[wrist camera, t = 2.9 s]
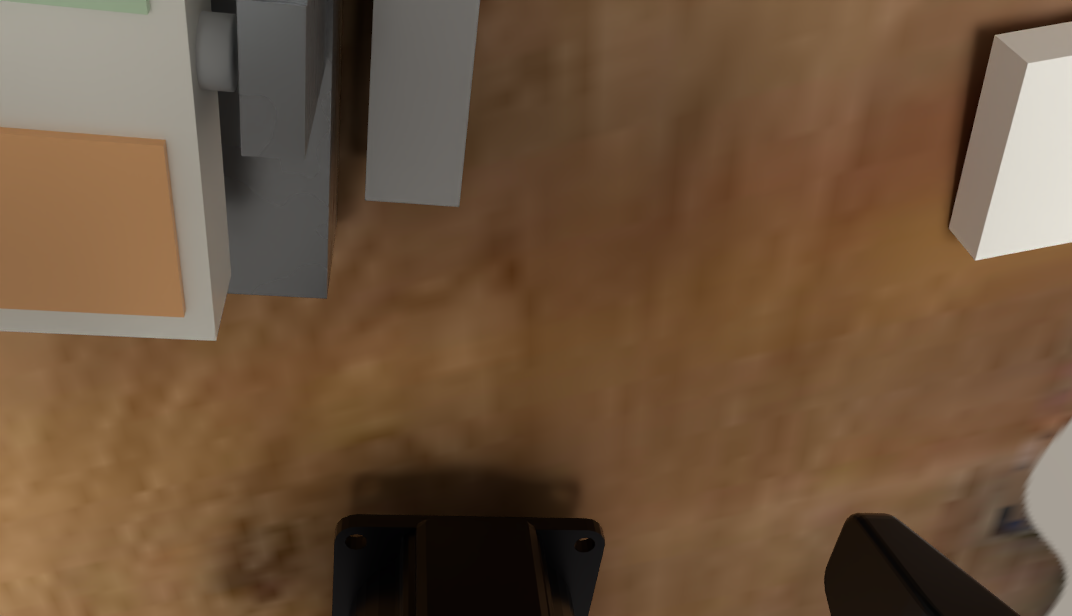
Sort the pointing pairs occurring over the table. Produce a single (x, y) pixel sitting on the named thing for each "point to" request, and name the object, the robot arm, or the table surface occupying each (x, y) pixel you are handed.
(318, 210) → the grey stand
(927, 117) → the table surface
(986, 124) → the eraser
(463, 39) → the tall grey pillar
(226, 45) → the rocker switch
